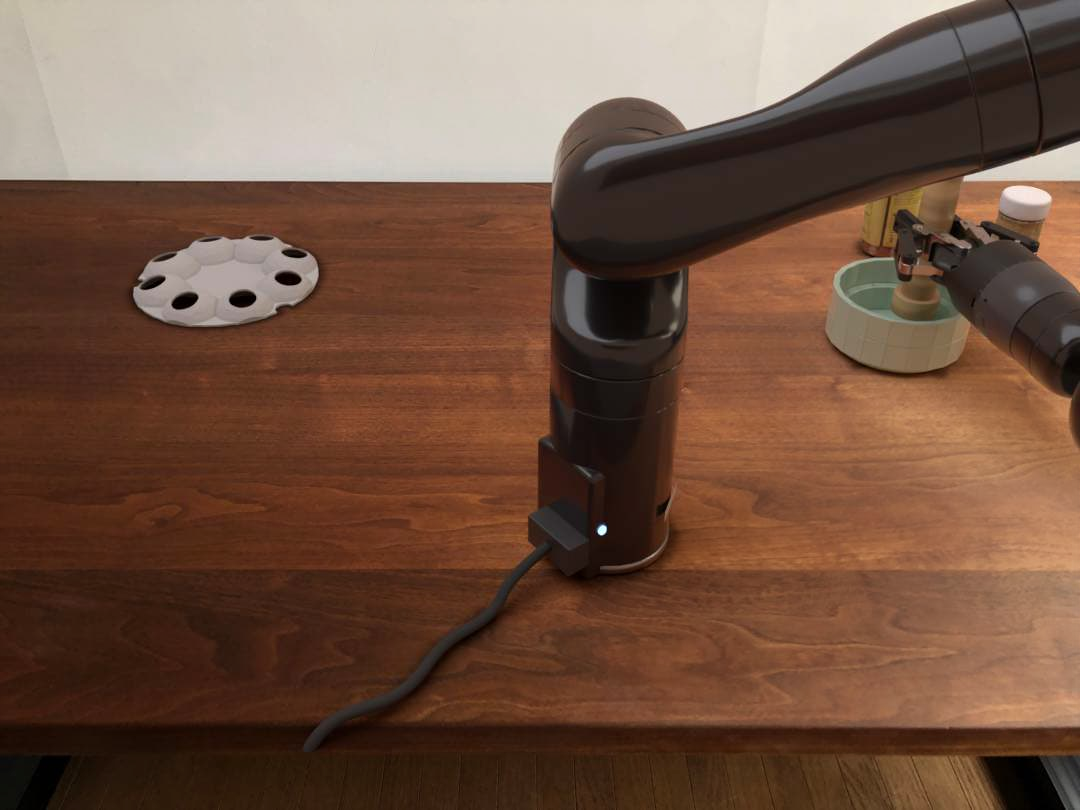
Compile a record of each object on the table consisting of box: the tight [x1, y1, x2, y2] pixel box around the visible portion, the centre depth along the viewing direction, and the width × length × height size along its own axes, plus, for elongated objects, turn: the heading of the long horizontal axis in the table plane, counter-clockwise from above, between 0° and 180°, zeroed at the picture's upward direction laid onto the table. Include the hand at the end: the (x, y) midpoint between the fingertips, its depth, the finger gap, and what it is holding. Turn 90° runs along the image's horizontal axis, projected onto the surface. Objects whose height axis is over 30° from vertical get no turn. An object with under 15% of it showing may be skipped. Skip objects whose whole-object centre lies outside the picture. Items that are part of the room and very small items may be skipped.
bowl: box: [824, 257, 972, 374], centre depth 103 cm, size 13×13×6 cm
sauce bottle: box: [860, 187, 924, 258], centre depth 116 cm, size 7×6×20 cm
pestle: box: [890, 176, 965, 321], centre depth 100 cm, size 4×4×16 cm
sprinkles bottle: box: [991, 185, 1053, 242], centre depth 106 cm, size 5×5×14 cm
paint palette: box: [132, 233, 320, 328], centre depth 114 cm, size 20×20×2 cm
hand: (917, 216), depth 102 cm, fingers closed on pestle, 3 cm apart
